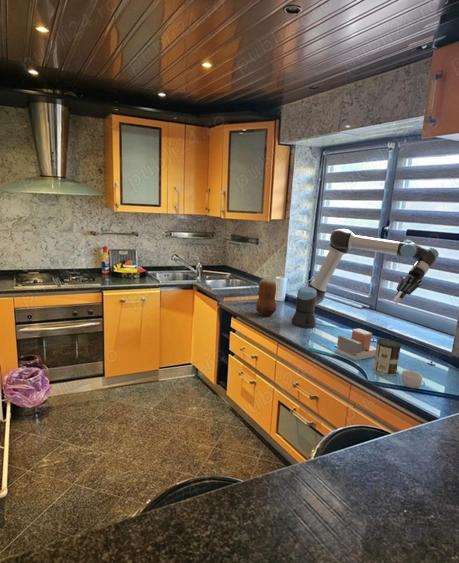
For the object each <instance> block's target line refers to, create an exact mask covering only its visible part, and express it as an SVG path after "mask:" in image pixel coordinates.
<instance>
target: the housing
mask: <svg viewBox="0 0 459 563" xmlns="http://www.w3.org/2000/svg"><path fill="white" fill-rule="evenodd" d="M351 338H352V337H349V336H346V335H344V334H340V335H338V336H337V344H336V352H337V353H339V352H340V353H339V354H342V355H344V356H347V357H348V356H349V357H348V358H350V357H351V359H353V360H355V361H357V360H358V361H359V360H363V359H369V358H373V357H374V358H375V353H376V347H375V346H373V345H370V349H369V350H365V351H362V343H361V342H359V341H356V340H354V339H351Z"/></svg>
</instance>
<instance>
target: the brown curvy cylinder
mask: <svg viewBox="0 0 459 563" xmlns="http://www.w3.org/2000/svg"><path fill="white" fill-rule="evenodd" d="M257 294H258V299H257V301H256V305H255V307H256V312H258V314H260V315H262V316H264V317H270V316H272V315H273V314H275V313H276V311H277V303H276V294H277V284H276V281H275V280H274V279H266V278H263V279H260V280H259V283H258V293H257Z"/></svg>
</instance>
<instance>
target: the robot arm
mask: <svg viewBox="0 0 459 563" xmlns="http://www.w3.org/2000/svg"><path fill="white" fill-rule="evenodd" d="M329 240H330V241H329V242H330V244H329V245H328V246H329V251H328V253H327V255H326V256H325V258H324V261H323V262H322V264H321V266H320V269H319V270H318V272H317V275H316V276H315V278H314V280H313V281H311V282H309V285H308V286H304V287H300V288H298V289H297V293H296V304H295V312H294V314H293V317H292V318H291V324H292V325H293V326H295V327H298V328H305V329H311V328H316V324H317V322H316V317H315V308H316V307H315V306H317V305H320V304H321V303H322V302H323V301H324V299H325V296H326V292H327V285H328V284H329V282H330V280H331V278H332V276H333V274H334V272H335V271H336V269H337V267H338V264H339V263H340V262H341V259H342V257H343V256H344V255H346V254H347V253H348V252H349V250H351V249H356V250H357V249H358V250H362V251H369V252H370V251H371V252H375V253H381V254H386V255H392V256H399V257H404V258H406V259H409V258H412V259H414V260H415V261H416V262H415V263H414V264H413V265H412V267H411V268H410V270H409V271H408V273H407V274H406V275H405V276H400V279H399V282H398V283H397V286H396V291H397V292H396V294H395V297H394V298H393V302H394V304H399V302H400V301H401V300H403V298H405V296H406V295H408V296H410V295H411V294H413V292H414V291H416V290H417V289H418V288H419V287H421V286H422V285H423V284H424V283H423V281H422V279H423V278H424V277H425V275H426V274H427V272H428V271H430V268H431V267H432V266H433V265H434V263H435V262H436V261H437V260H438V259H437V258H439V251H438V250H437V249H436V248H433V247H427V248H424V247H421V246H420V245H419V244H416V242H413V241H412V240H410V239H405V240H404V241H403V242H402V241H401V242H400V241H396V240H390V239H384V238H376V237H369V236H363V235H356V234H354V233H353V231H352V230H350V229H348V228H338V229H335V230H334V231H332V233H331V234H330V236H329Z"/></svg>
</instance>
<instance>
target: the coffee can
mask: <svg viewBox="0 0 459 563" xmlns="http://www.w3.org/2000/svg"><path fill="white" fill-rule="evenodd" d="M401 347H402V344H401V343H400V342H398V341H396V340H392V339H389V338H388V339H387V338H378V339H377V340H376V347H375V348H376V353H375V356H374V362H373V366H372V368H373V369H372V370H373V372H375V373H377V374H378V375H382V376H386V377H393V376H394V377H395V376H396V375H397V371H398V367H399V365H398V364H399V358H400V353H401V352H400V351H401Z"/></svg>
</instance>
